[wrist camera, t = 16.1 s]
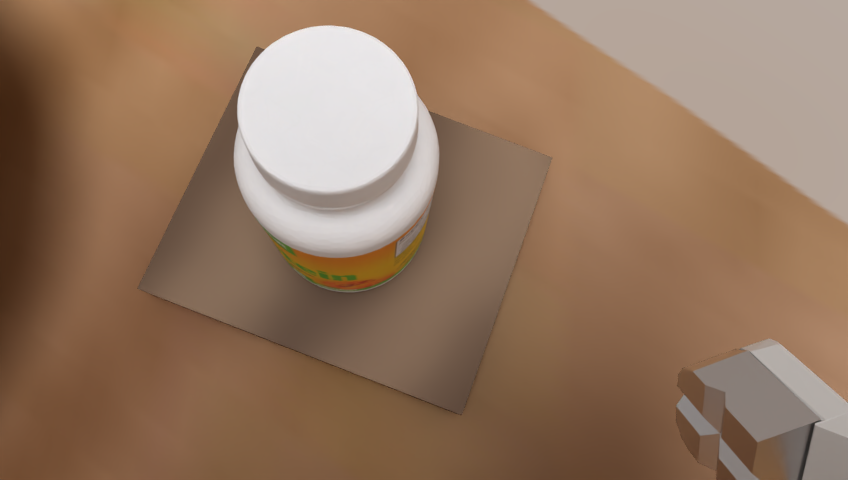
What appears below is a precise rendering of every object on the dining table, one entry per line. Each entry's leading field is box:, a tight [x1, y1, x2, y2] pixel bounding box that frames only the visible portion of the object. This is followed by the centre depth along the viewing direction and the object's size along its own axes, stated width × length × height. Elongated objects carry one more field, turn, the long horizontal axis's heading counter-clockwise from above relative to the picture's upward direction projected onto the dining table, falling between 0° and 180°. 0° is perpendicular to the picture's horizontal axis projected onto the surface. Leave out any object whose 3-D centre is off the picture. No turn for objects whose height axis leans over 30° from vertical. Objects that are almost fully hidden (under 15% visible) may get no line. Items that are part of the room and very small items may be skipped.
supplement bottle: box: [234, 26, 439, 292], centre depth 19 cm, size 5×5×10 cm
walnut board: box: [137, 47, 552, 415], centre depth 25 cm, size 12×10×2 cm
